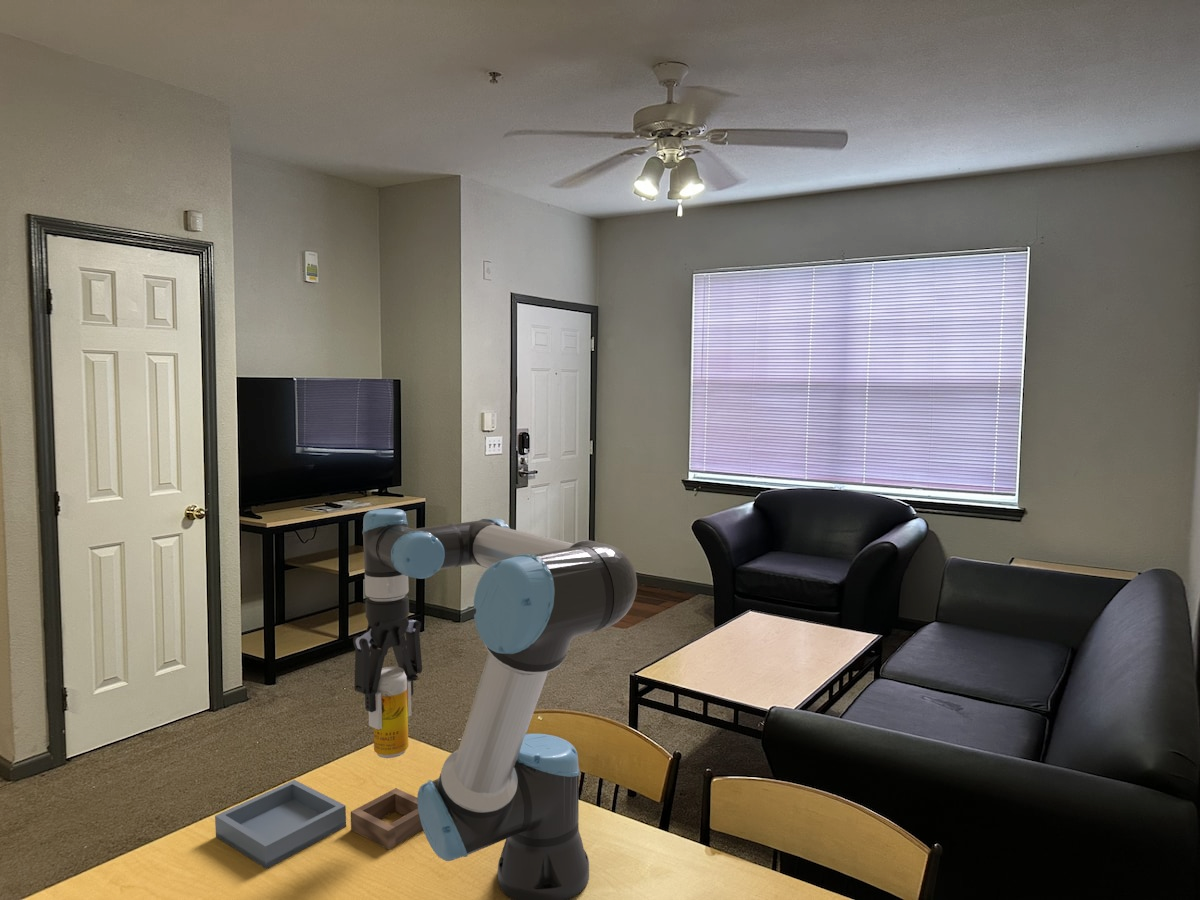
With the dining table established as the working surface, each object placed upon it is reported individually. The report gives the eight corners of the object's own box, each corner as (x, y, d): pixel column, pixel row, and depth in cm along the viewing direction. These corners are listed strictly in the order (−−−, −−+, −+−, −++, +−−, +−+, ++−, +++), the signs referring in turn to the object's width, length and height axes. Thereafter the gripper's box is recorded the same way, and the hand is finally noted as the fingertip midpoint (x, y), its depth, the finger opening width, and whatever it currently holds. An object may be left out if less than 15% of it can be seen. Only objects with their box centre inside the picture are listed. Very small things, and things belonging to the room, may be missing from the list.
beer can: (367, 757, 146) (364, 676, 145) (385, 742, 152) (383, 664, 151) (397, 761, 145) (395, 679, 143) (414, 746, 150) (412, 667, 149)
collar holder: (433, 823, 151) (433, 805, 151) (388, 849, 143) (388, 830, 142) (396, 805, 157) (396, 788, 157) (351, 829, 149) (350, 811, 148)
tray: (346, 826, 150) (345, 805, 150) (266, 868, 137) (265, 846, 137) (295, 799, 159) (294, 779, 159) (215, 836, 147) (214, 815, 146)
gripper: (414, 581, 156) (417, 698, 158) (328, 604, 140) (333, 734, 142) (441, 587, 151) (443, 708, 153) (356, 611, 136) (360, 745, 138)
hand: (390, 720), depth 148 cm, fingers closed on beer can, 6 cm apart
